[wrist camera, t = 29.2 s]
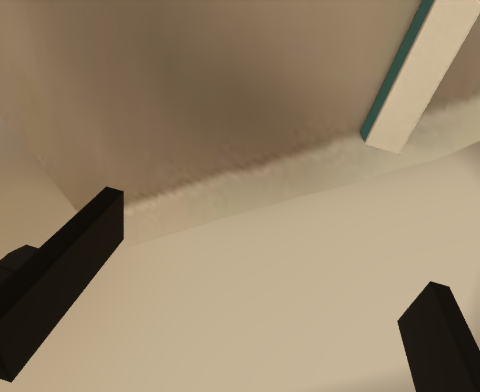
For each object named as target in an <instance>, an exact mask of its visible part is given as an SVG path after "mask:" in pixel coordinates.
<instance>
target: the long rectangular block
mask: <svg viewBox="0 0 480 392" xmlns="http://www.w3.org/2000/svg"><path fill="white" fill-rule="evenodd" d="M479 14H480V0H423V1H422V3H421V5H420V7H419V9H418V11H417V13H416V15H415V17H414V20H413V22H412V24H411V26H410V28H409V30H408V32H407V34H406V37H405V39H404V41H403V43H402V45H401V47H400V49H399V51H398V53H397V56H396V58H395V60H394V62H393V64H392V66H391V68H390V70H389V72H388V75H387V77H386V79H385V81H384V83H383V85H382V87H381V89H380V92H379V94H378V96H377V98H376V100H375V102H374V104H373V106H372V108H371V111H370V113H369V115H368V117H367V119H366V121H365V123H364V125H363V128H362V130H361V134H362V137H363V140H364V142H365V145H369V146H372V147H376V148H379V149H382V150H386V151H389V152H392V153H396V154H400V152H401V150H402V149H403V147H404V145H405V143H406V142H407V140H408V138H409V136H410V135H411V133H412V131H413V129H414V127H415V126H416V124H417V122H418V120H419V119H420V117H421V115H422V113H423V112H424V110H425V108H426V106H427V105H428V103H429V101H430V99H431V98H432V96H433V94H434V92H435V91H436V89H437V87H438V85H439V84H440V82H441V80H442V78H443V77H444V75H445V73H446V71H447V70H448V68H449V66H450V64H451V63H452V61H453V59H454V57H455V56H456V54H457V52H458V50H459V49H460V47H461V45H462V43H463V42H464V40H465V38H466V36H467V35H468V33H469V31H470V29H471V28H472V26H473V24H474V22H475V21H476V19H477V17H478V15H479Z"/></svg>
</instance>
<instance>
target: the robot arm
mask: <svg viewBox="0 0 480 392" xmlns="http://www.w3.org/2000/svg"><path fill="white" fill-rule="evenodd" d="M123 239H124V191H120V190H117V189H113V188H110V187H107V186H106V187H105V188H104V189H103V190H102V191H101V192H100V193H99V194H98V195H97V196H96V197H94V198H93V199H92V200H91V201H90V202H89V203H88V204H87V205H86V206H85V207H84V208H82V209H81V210H80V211H79V212H78V213H77V214H76V215H75V216H74V217H73V218H72V219H70V220H69V221H68V222H67V223H66V224H65V225H64V226H63V227H62V228H61V229H60V230H59V231H58V232H56V233H55V234H54V235H53V236H52V237H51V238H50V239H49V240H48V241H46V242H45V243H44V244H43V245H42V246H41V247H40V248H36V247H32V246H29V245H25V246H23V247H20V248H18V249H17V250H14V251H12V252H10V253H8V254H7V255H6V256H5V257H4V258H2V259H1V260H0V379H2V380H5V381H8V382H12V381H13V380H14V379H15V377H16V376H17V375H18V373H19V372H20V371H21V370H22V368H23V367H24V366H25V364H26V363H27V362H28V361H29V359H30V358H31V357H32V356H33V354H34V353H35V352H36V351H37V349H38V348H39V347H40V345H41V344H42V343H43V342H44V340H45V339H46V338H47V336H48V335H49V334H50V332H51V331H52V330H53V329H54V327H55V326H56V325H57V324H58V322H59V321H60V320H61V318H62V317H63V316H64V315H65V313H66V312H67V311H68V309H69V308H70V307H71V306H72V304H73V303H74V302H75V301H76V299H77V298H78V297H79V295H80V294H81V293H82V292H83V290H84V289H85V288H86V287H87V285H88V284H89V283H90V281H91V280H92V279H93V278H94V276H95V275H96V274H97V272H98V271H99V270H100V269H101V267H102V266H103V265H104V263H105V262H106V261H107V260H108V258H109V257H110V256H111V255H112V253H113V252H114V251H115V249H116V248H117V247H118V246H119V244H120V243H121V242H122V240H123ZM397 322H398V326H399V330H400V333H401V337H402V341H403V345H404V348H405V352H406V356H407V359H408V363H409V367H410V371H411V375H412V378H413V382H414V386H415V389H416V392H480V350H479V348H478V346H477V344H476V342H475V340H474V338H473V336H472V334H471V331H470V329H469V328H468V325H467V323H466V321H465V319H464V317H463V315H462V312H461V311H460V308H459V306H458V304H457V302H456V300H455V298H454V296H453V294H452V292H451V290H450V287H448V286H445V285H442V284H438V283H435V282H429V284H428V285H427V286H426V287H425V288H424V290H423V291H422V292H421V293H420V294H419V296H418V297H417V298H416V299H415V300H414V302H413V303H412V304H411V305H410V306H409V308H408V309H407V310H406V311H405V312H404V314H403V315H402V316H401V317H400V318H399V320H398V321H397Z"/></svg>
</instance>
